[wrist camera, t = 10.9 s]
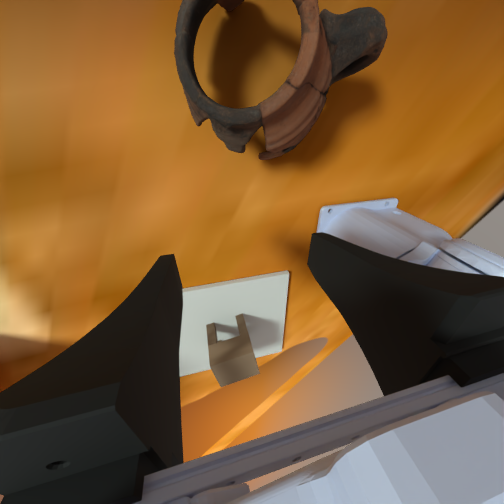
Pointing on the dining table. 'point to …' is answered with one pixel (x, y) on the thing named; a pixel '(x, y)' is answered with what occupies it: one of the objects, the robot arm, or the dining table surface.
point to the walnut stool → (231, 355)
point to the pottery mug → (298, 82)
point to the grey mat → (233, 316)
